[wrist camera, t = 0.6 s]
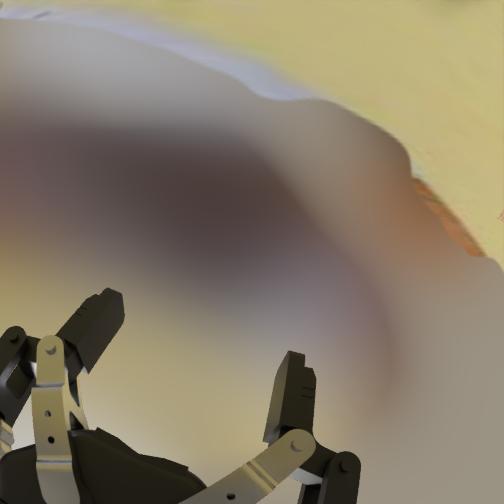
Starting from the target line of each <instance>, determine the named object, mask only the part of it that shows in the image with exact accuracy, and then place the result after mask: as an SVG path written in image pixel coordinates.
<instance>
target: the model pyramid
mask: <svg viewBox="0 0 504 504" xmlns="http://www.w3.org/2000/svg"><path fill="white" fill-rule="evenodd" d="M498 219H500V220H502V221H503V222H504V210H503V211H502V213H501V214H500V216H499V217H498Z"/></svg>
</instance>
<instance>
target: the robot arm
mask: <svg viewBox="0 0 504 504" xmlns="http://www.w3.org/2000/svg"><path fill="white" fill-rule="evenodd" d="M124 316H125V313H124V306H123V298H122V294H121V293H120V292H117V291H115V290H112V289H110V288H106V289H105V290H104V291H103V292H102V293H101V294H100V295H97V294H95V295H93V296H91V297H90V298H87V299H86V300H85V301H84V302H83V304H82V305H81V306H80V308H78V309H77V311H76V312H75V313H74V314H73V315H72V316H71V317H70V319H69V320H68V321H67V322H66V323H65V324H64V326H63V327H62V328H61V329H60V330H59V332H58V333H57V334H56V335H49V336H45V337H44V338H42V339H39V338H35V337H30V336H27V335H26V333H25V331H24V329H23V328H21V327H19V326H13V327H10V328H8V329H7V330H6V331H5V333H4V334H3V335H2V336H1V338H0V504H256V503H257V502H258V501H260V500H261V499H262V498H264V497H265V496H267V495H268V494H269V493H270V492H271V491H273V490H274V488H275V487H276V486H277V485H278V484H279V483H281V482H282V481H283V480H284V479H285V478H287V477H288V476H289V477H291V478H293V479H295V480H297V481H299V482H301V483H302V486H301V491H300V495H299V499H298V503H297V504H356V503H357V496H358V488H359V480H360V471H361V463H360V460H359V458H358V457H357V456H356V455H355V454H353V453H351V452H347V451H344V452H340V453H336V452H334V451H331V450H329V449H327V448H325V447H323V446H321V445H320V444H319V443H318V442H317V441H316V440H315V438H314V436H313V431H312V427H313V417H314V404H315V390H316V376H315V374H314V371H313V369H312V368H308V367H304V365H305V355H304V354H301V353H297V352H293V351H288V352H287V354H286V356H285V357H284V359H283V361H282V363H281V365H280V367H279V369H278V371H277V374H276V377H275V382H274V387H273V392H272V397H271V403H270V408H269V413H268V418H267V423H266V428H265V432H264V437H263V442H267V443H269V445H268V448H267V449H266V450H264V451H263V452H262V453H260V454H259V455H258V456H256V457H255V458H253V459H252V460H251V461H249V462H247V463H245V464H244V465H242V466H241V467H239V468H238V469H236V470H235V471H233V472H232V473H230V474H229V475H227V476H226V477H224V478H222V479H221V480H219V481H218V482H216V483H214V484H213V485H211V486H209V487H208V488H207V486H206V485H205V484H204V483H203V481H202V480H200V479H199V478H198V477H197V476H196V475H195V474H193V473H192V472H190V471H188V467H187V466H184V465H181V464H179V463H176V462H173V461H170V460H167V459H165V458H159V457H153V456H147V455H142V454H138V453H137V452H135V451H134V450H133V449H131V448H130V447H129V446H127V445H126V444H125V443H124V442H122V441H121V440H120V439H119V438H117V437H115V436H113V435H111V434H110V433H108V432H106V431H104V430H102V429H100V428H98V427H97V429H96V430H89V428H88V424H87V420H86V417H85V415H84V412H83V408H82V401H81V393H80V385H79V377H78V375H79V373H80V372H81V371H83V372H85V373H87V374H89V373H90V371H91V370H92V368H93V367H94V365H95V364H96V362H97V361H98V358H99V357H100V356H101V355H102V353H103V352H104V350H105V349H106V347H107V346H108V344H109V343H110V342H111V340H112V339H113V337H114V336H115V334H116V333H117V332H118V330H119V329H120V327H121V326H122V324H123V321H124ZM16 365H17V366H16ZM15 366H16V367H15ZM14 368H15V369H14ZM13 369H14V370H13ZM12 371H13V372H12ZM11 372H12V373H11ZM10 374H11V375H10ZM9 375H10V376H9ZM8 377H9V378H8ZM7 379H8V380H7ZM30 394H31V397H32V416H33V428H34V437H35V444H33V445H30V446H26V447H23V448H19V449H16V450H12V449H11V445H12V444H13V443H14V438H13V432H12V427H13V425H14V423H15V421H16V419H17V417H18V416H19V414H20V412H21V410H22V408H23V406H24V405H25V403H26V401H27V399H28V398H29V396H30Z"/></svg>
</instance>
